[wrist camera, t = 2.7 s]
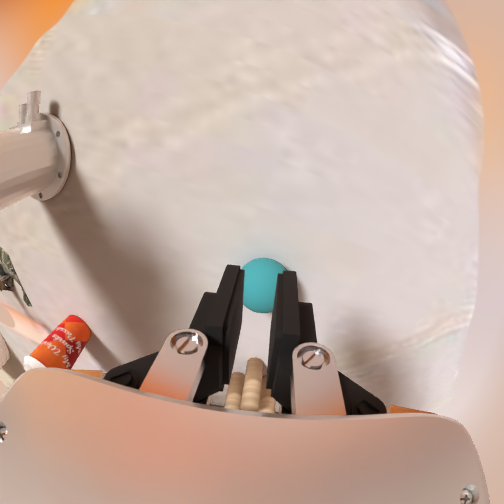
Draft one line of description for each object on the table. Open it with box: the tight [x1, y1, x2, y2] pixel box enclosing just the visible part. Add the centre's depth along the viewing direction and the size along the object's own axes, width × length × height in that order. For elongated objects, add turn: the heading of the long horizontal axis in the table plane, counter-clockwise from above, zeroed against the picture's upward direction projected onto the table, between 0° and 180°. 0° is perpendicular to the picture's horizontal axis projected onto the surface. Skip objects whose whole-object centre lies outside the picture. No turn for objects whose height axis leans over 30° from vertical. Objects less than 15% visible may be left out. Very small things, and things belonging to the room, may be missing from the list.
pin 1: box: [224, 372, 245, 410], centre depth 38 cm, size 2×2×8 cm
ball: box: [242, 258, 287, 313], centre depth 30 cm, size 6×6×6 cm
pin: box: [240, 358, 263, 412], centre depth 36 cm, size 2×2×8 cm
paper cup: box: [24, 315, 91, 371], centre depth 36 cm, size 8×8×14 cm
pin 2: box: [258, 376, 275, 413], centre depth 38 cm, size 2×2×8 cm
